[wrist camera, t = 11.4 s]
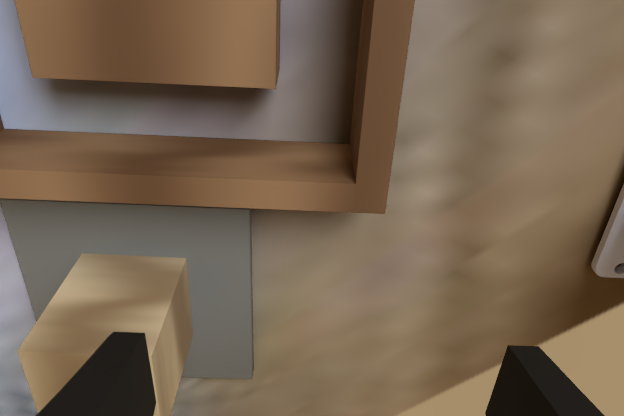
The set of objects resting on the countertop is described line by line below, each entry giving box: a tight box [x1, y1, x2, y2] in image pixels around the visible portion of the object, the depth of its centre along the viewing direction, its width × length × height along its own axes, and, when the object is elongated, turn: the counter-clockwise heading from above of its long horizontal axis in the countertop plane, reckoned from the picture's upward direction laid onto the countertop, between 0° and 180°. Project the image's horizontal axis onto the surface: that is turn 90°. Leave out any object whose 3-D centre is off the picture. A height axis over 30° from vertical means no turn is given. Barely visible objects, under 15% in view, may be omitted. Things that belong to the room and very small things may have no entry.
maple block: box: [17, 253, 193, 416], centre depth 19 cm, size 4×4×5 cm
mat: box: [0, 198, 254, 379], centre depth 21 cm, size 9×9×1 cm
